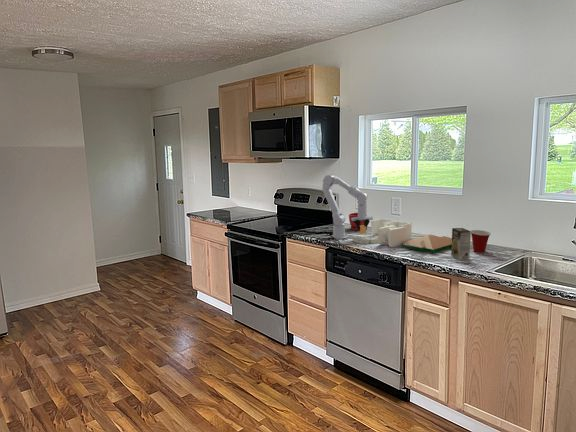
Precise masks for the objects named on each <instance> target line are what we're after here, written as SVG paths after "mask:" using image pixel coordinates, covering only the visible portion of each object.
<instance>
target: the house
mask: <svg viewBox="0 0 576 432" xmlns="http://www.w3.org/2000/svg"><path fill="white" fill-rule="evenodd" d="M403 244H404V245H403ZM406 246H408V247H411V249H412V250H414V251H418V252H419V253H424V252H425V253H427V252H430V253H431V254H432V255H433V254H435V251H436V253H440V252H442V251H446V250H448V249H452V237H449V236H445V235H444V236H437V235H435V234H427V235H424V236H419V237H416V238H413V239H412V238H411V239H410V240H406V241H405V242H402V246H401V247H402V248H406Z"/></svg>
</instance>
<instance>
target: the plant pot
mask: <svg viewBox="0 0 576 432" xmlns="http://www.w3.org/2000/svg"><path fill="white" fill-rule="evenodd" d="M354 217H358V212H352V213H349V214H348V221H349V224H350V229H351V230H352V231H358V229H357V226H356V223H355V221H351V218H354ZM366 217H368V216H367V213H366ZM359 221H360V226H362V225H364V220H359Z"/></svg>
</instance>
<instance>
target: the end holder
mask: <svg viewBox="0 0 576 432" xmlns="http://www.w3.org/2000/svg"><path fill="white" fill-rule="evenodd" d="M363 239H368V244H378V235H374V238H368V237H367V236H363Z"/></svg>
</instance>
